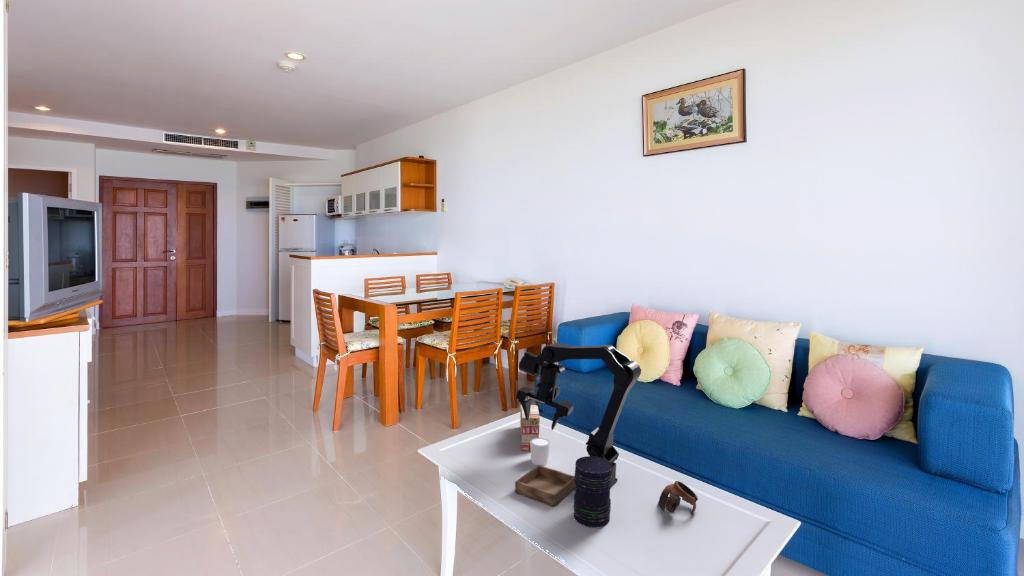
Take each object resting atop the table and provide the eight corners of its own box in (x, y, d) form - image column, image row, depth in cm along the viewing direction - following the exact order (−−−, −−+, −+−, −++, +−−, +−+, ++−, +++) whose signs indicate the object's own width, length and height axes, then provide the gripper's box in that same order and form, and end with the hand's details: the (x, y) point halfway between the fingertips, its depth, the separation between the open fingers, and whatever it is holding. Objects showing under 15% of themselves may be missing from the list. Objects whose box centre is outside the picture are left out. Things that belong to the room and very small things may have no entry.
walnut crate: (576, 487, 149) (576, 476, 148) (554, 507, 138) (555, 495, 137) (538, 475, 156) (538, 464, 156) (515, 492, 145) (515, 481, 145)
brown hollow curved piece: (659, 497, 145) (675, 475, 144) (687, 521, 140) (704, 499, 139) (648, 505, 135) (666, 481, 134) (678, 532, 130) (696, 507, 129)
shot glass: (527, 464, 163) (527, 444, 162) (532, 456, 170) (532, 436, 169) (547, 468, 161) (548, 447, 160) (552, 459, 168) (552, 439, 167)
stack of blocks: (519, 427, 195) (520, 397, 194) (535, 427, 195) (536, 397, 194) (521, 451, 174) (521, 417, 172) (538, 451, 174) (539, 417, 172)
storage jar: (617, 517, 134) (619, 464, 132) (597, 532, 126) (599, 477, 125) (586, 503, 140) (588, 452, 139) (565, 517, 133) (567, 464, 131)
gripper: (582, 382, 164) (574, 425, 167) (532, 366, 172) (525, 407, 175) (571, 392, 154) (562, 438, 158) (518, 374, 162) (510, 418, 165)
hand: (539, 424), depth 164 cm, fingers open, 9 cm apart
